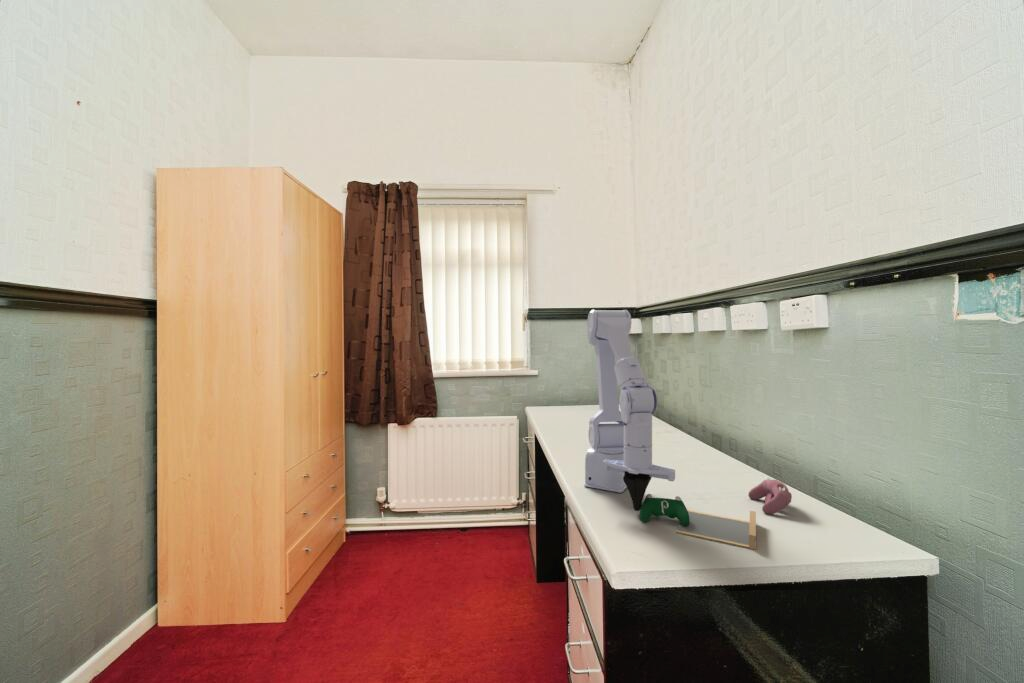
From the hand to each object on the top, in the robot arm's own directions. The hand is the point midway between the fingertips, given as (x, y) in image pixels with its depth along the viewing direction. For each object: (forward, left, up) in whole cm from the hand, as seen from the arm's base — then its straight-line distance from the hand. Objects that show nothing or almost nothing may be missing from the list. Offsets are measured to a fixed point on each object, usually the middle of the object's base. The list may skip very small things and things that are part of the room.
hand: (637, 509), depth 88 cm
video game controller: (+24, +19, -1) cm, 30 cm away
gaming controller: (+5, 0, -1) cm, 6 cm away
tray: (+14, +1, -1) cm, 14 cm away
